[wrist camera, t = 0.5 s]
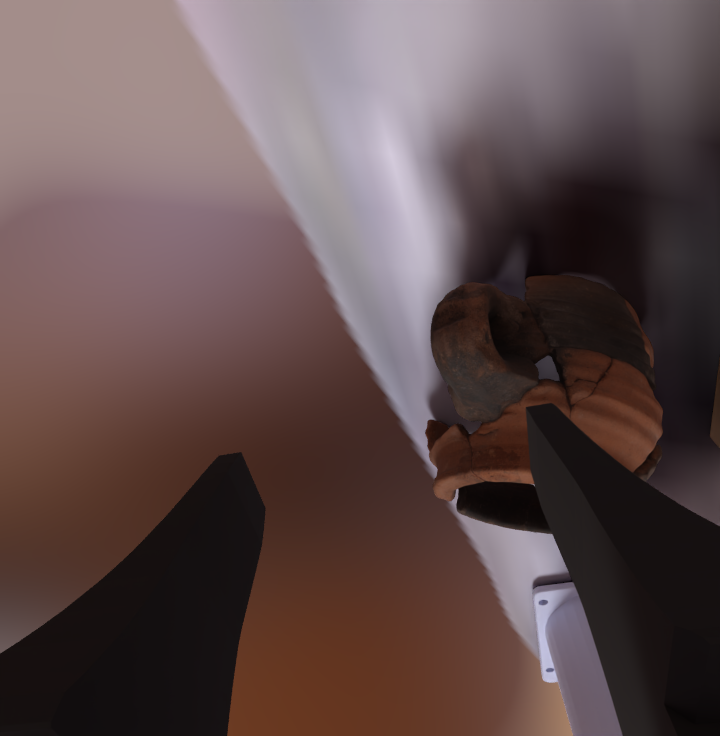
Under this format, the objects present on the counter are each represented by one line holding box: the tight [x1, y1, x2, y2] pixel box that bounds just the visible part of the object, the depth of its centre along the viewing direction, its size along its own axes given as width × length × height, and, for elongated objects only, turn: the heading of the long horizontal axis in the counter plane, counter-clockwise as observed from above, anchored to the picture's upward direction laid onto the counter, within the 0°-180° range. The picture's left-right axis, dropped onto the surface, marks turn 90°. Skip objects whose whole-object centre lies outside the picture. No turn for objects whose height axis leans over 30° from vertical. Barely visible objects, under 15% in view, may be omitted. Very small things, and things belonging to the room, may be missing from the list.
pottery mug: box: [425, 275, 663, 534], centre depth 21 cm, size 12×10×8 cm
